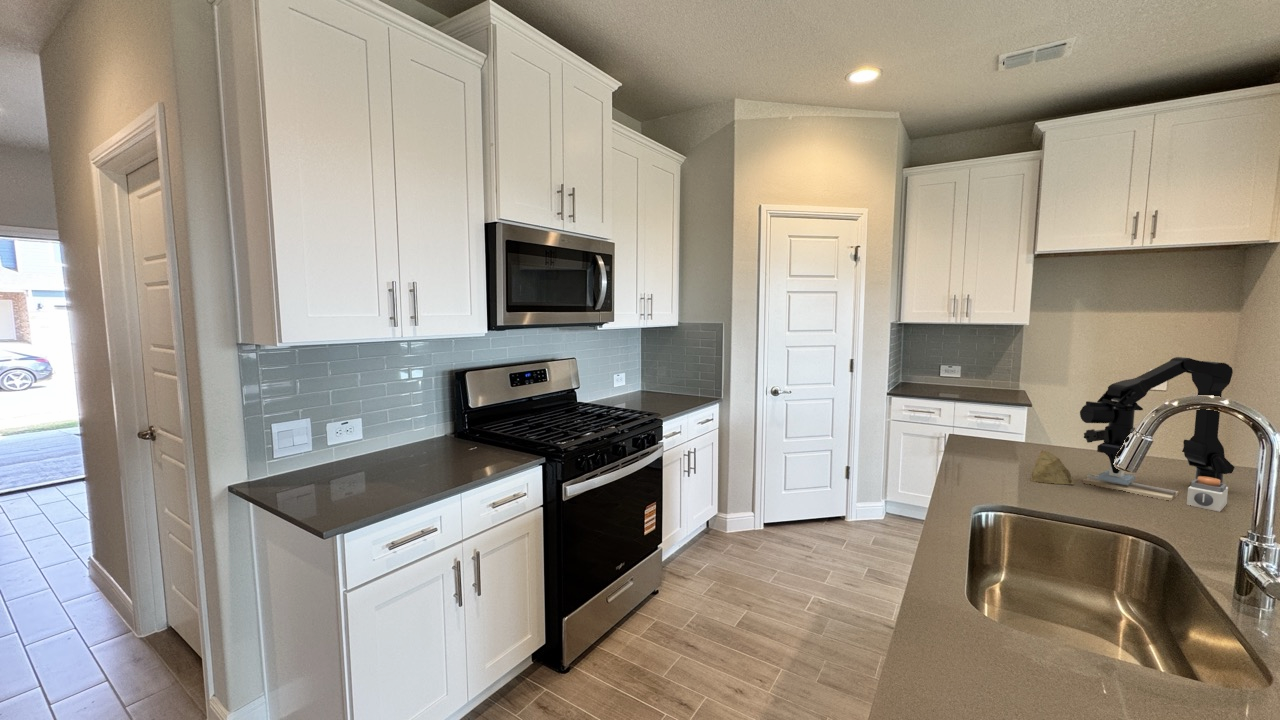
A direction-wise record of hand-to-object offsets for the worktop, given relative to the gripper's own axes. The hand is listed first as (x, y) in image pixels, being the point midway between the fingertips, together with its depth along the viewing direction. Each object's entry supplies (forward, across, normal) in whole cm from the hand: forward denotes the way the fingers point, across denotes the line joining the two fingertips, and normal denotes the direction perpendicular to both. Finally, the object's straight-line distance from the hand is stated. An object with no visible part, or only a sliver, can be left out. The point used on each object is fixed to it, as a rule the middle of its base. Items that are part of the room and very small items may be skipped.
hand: (1117, 472), depth 164 cm
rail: (+4, 0, +3) cm, 5 cm away
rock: (+5, +12, -13) cm, 18 cm away
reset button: (-2, 0, +20) cm, 20 cm away
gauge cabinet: (+4, 0, +20) cm, 20 cm away
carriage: (+2, 0, 0) cm, 2 cm away
